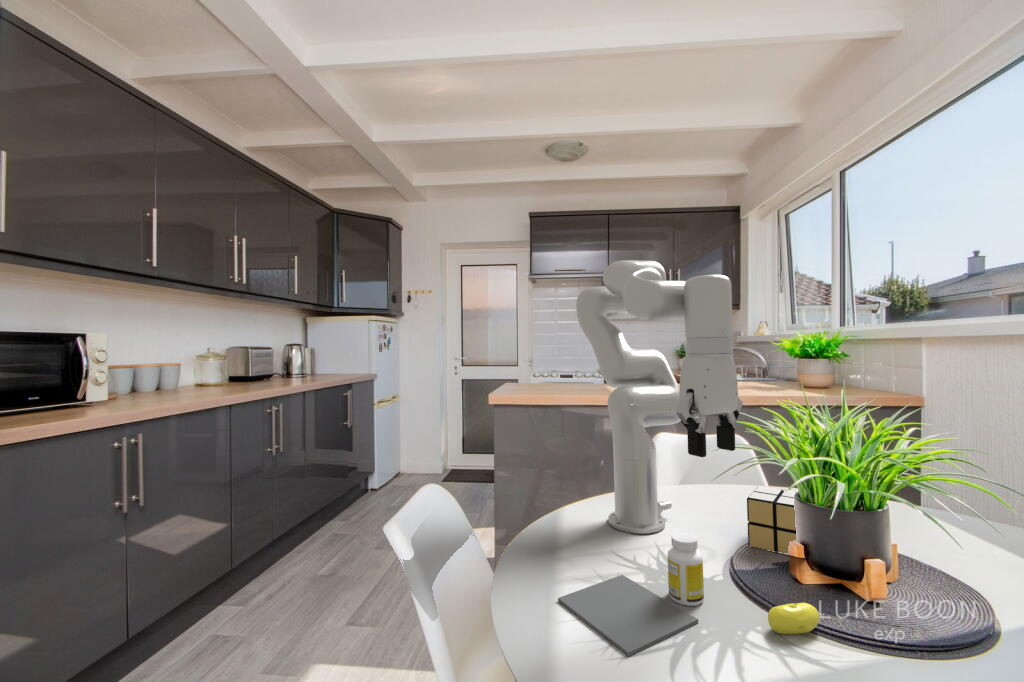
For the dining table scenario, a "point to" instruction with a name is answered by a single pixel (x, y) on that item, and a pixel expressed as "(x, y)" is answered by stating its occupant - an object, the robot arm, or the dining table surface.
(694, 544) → the supplement bottle
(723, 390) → the robot arm
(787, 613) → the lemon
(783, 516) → the puzzle cube
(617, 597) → the charcoal mat
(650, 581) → the dining table surface
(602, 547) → the dining table surface
